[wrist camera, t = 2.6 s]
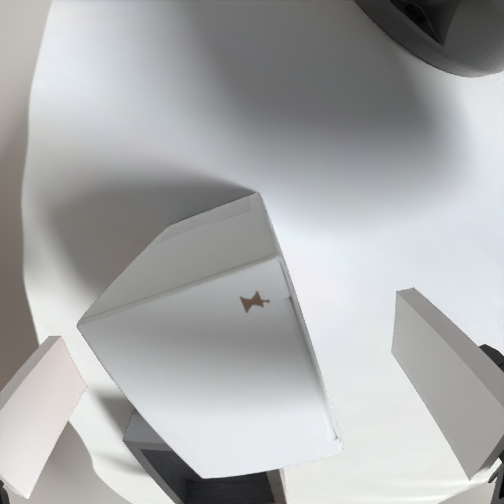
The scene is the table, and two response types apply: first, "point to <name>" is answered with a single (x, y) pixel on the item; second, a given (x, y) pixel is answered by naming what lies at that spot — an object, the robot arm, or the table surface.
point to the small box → (216, 346)
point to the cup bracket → (189, 482)
